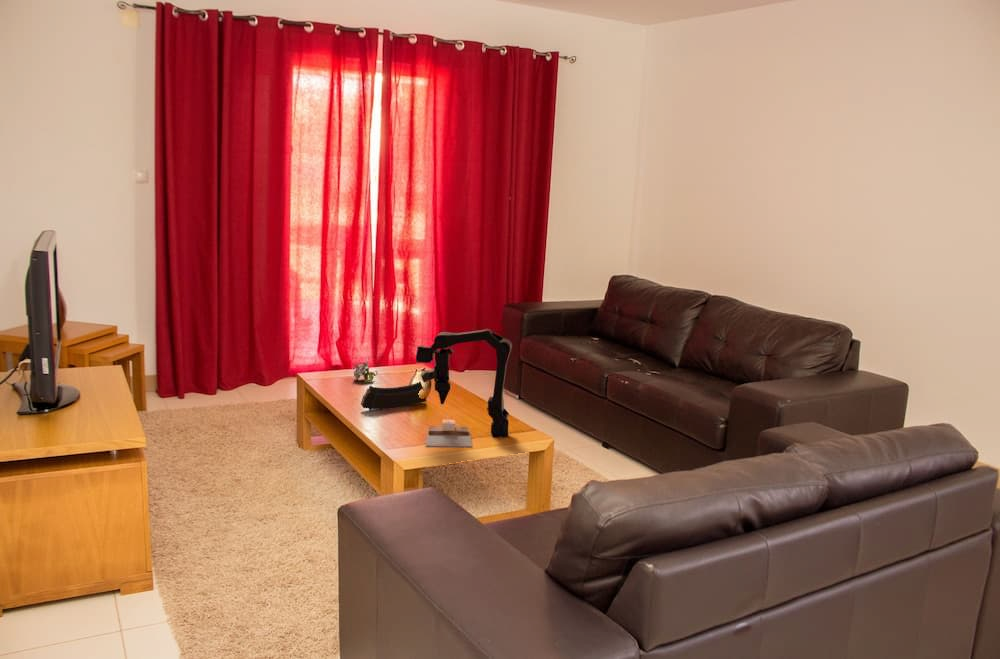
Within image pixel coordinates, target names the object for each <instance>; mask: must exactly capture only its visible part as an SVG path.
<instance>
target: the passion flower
mask: <svg viewBox="0 0 1000 659" xmlns="http://www.w3.org/2000/svg"><path fill="white" fill-rule="evenodd" d="M368 364H369V360H366V362H365V361H364V362H362V363H360V364H359V362H356V363H355V365H354V366H353V367H352V370H354V371H353V377H354V378H355V379H354V381H355V380H357V381H358V380H359V378H360V377H361V376H362V377H363V380H364V383H365V384H366V383H367V384H368V381H369V382H370V383H371V382H372V381H373V380H374V377H377V376H378V370H375V371H369V370H370V367H369V365H368Z"/></svg>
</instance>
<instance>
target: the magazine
mask: <svg viewBox="0 0 1000 659" xmlns="http://www.w3.org/2000/svg"><path fill="white" fill-rule="evenodd" d="M418 382H419V383H418ZM418 382H416V383H412V384H409V385H403V386H397V387H377V386H375V387H374V386H372V385H369V387H368V388H367V389H366V391H365V393H364V394H363V395H362V399H361V402H360V405H361V406H362V408H363V409H368V411H369V410H371V411H372V410H392V409H391V408H393V409H399V408H398V407H401V408H406V407H405V406H407V407H410V406H413V405H414V406H415V405H418V404H422V403H426V402H427V398H426V396H425V398H424V399H421V398H419V395H418V393H419V391H420V390H421V389H423V390H424V387H423V385H422V382H421V381H418Z"/></svg>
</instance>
